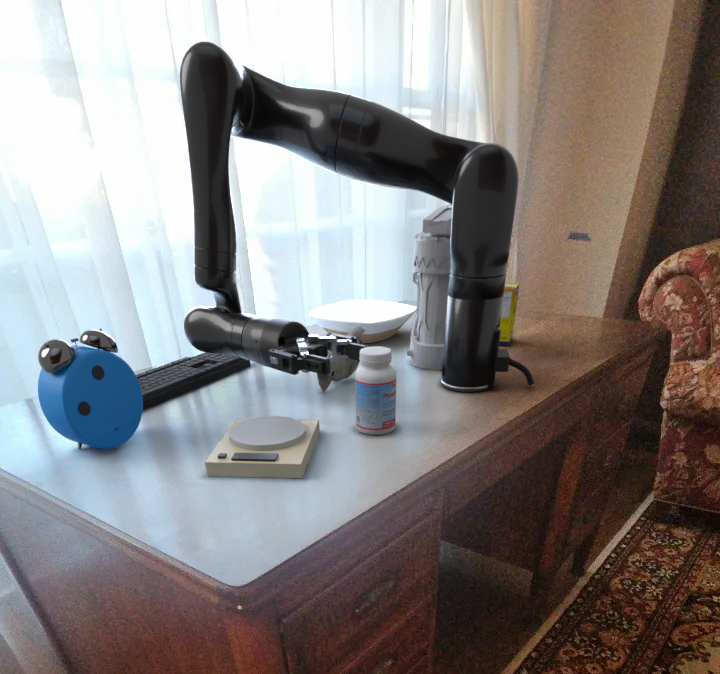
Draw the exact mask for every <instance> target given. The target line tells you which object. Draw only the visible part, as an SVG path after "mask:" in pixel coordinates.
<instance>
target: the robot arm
mask: <svg viewBox="0 0 720 674" xmlns="http://www.w3.org/2000/svg"><path fill="white" fill-rule="evenodd" d="M178 78H179V92H180V100H181V101H180V102H181V108H182V109H181V110H182V115H183V122H184V130H185V136H186V137H185V138H186V144H187V153H188V154H187V155H188V164H189V172H190V183H191V184H190V185H191V198H192V200H191V201H192V221H193V225H192V226H193V278H194V282H195V284H196V286H197V287H199V288H200V289H202V290H205V291H207V292H210V293H211V294H212V296H213V299H214V303H215V306H207V305H197V306H193V307H192V308H190V309H189V310H188V311H187V313H186V314H185V316H184V319H183V332H184V335H185V337H186V339H187V342H189V344H190V345H191V346H192V347H193V348H195V350H197V351H200V352H203V353H205V352H207V353H214V354H224V355H233V356H237V357H240V358H243V359H246V360H250V362H253V363H256V364H258V365H260V366H263V367H265V368H270V369H272V370H276V371H280V372H283V373H286V374H289V375H293V376H296V375H299V372H300V371H301V372H302V373H305V374H308V373H311V372H312V373H315V374H317V373H319V374H322V375H328V374H330V372H331V369H330V362H335V361H337V359H338V358H347V359H353V360H357V361H360V359H359V358H360V350H361V349H363V348H366V347H369V346H368V345H365V344H362V345H361V344H356V337H354V336H347V335H341V334H335V333H331V332H329V333H327V332H326V333H325V334H326V336H325V335H323V336H320V335H319V334H310V333H309V331H308V329H307V328H306V326H305V325H304V324H303V323H301V322H299V321H295V320H290V319H287V318H280V317H276V316H271V315H257V314H252V313H247V312H243V311H242V310H243V309H242V306H241V300H240V295H239V290H238V286H237V285H238V284H237V261H238V259H237V256H238V255H237V253H238V238H237V237H238V235H237V226H236V225H237V224H236V217H235V216H236V215H235V210H234V204H233V198H232V190H231V182H230V181H231V180H230V149H231V140H232V138H235V139H241V140H242V139H243V140H246V141H247V140H248V141H252V142H253V141H254V142H256V143H257V142H258V143H262V144H267V145H271V146H275V147H278V148H281V149H284V150H286V151H287V152H290V153H292V154H293V155H296V157H299V158H301V159H303V160H305V161H307V162H309V163H311V164H313V165H315V166H317V167H320V168H322V169H324V170H326V171H329V172H331V173H334V174H337V175H341V176H343V177H346V178H349V179H351V180H356V181H358V182H361V183H365V184H369V185H373V186H379V187H386V188H392V189H399V190H400V189H401V190H409V191H416V192H420V193H423V194H427V195H429V196H431V197H434V198H437V199H439V200H441V201H443V202H446V203H448V204H452V206H451V207H452V222H451V238H450V267H449V282H448V296H447V310H446V324H445V338H444V352H443V366H442V368H441V369H440V373H441V378H440V385H441V386H442V387H443V388H445V389H447V390H450V391H455V392H462V393H477V392H482V391H483V392H484V391H486V390H494V387H495V381H496V373H508V372H509V367H510V366H511V367H513V368H515V369H517V370H519V372H521V373H522V374H523V375H524V376H525V379H526V381H527V384H528V387H532V386H533V385H534V384H535V381H534V378H533V376H532V373H531V371H530V370H529V369H528V367H526V365H524V364H523V363H521V362H519V361H516V360H514V359H512V358H511V356H510V353H509V351H508V349H507V348H500V345H499V343H500V335H501V330H500V320H501V312H502V305H503V297H504V289H505V283H506V279H507V272H508V266H509V265H508V264H509V258H510V253H511V252H510V251H511V245H512V236H513V235H512V234H513V231H514V230H513V229H514V221H515V215H516V214H515V213H516V207H517V198H518V190H519V182H520V181H519V178H520V177H519V176H520V175H519V168H518V165H517V162H516V159H515V157H514V156H513V153H512V152H511V151H510V150H509V149H507V148H506V147H505V146H504V145H502V144H499V143H495V142H480V141H476V140H475V141H474V140H470V139H469V140H468V139H464V138H459V137H455V136H452V135H451V136H450V135H447V134H443V133H440V132H438V131H435V130H432V129H430V128H428V127H427V126H424V125H423V124H421V123H420V122H417V121H416V120H413V119H411V118H410V117H408V116H406V115H404V114H401V113H400V112H398V111H396V110H393V109H391V108H388V107H386V106H384V105H382V104H380V103H377V102H375V101H372V100H368V99H366V98H363V97H360V96H357V95H354V94H351V93H348V92H345V91H340V90H335V89H328V88H320V87H319V88H318V87H300V86H293V85H289V84H285V83H282V82H280V81H277V80H276V79H273V78H271V77H268V76H266V75H264V74H261V73H260V72H258V71H255V69H254V70H253V69H251V67H250V68H249V67H248V66H246V65H244V64H243V63H242V62H240V61H239V60H237V59H236V58H235V57H234V56H232V55H231V54H230V53H229V52H227V50H225V49H224V48H222V47H221V46H220V45H217V44H215V43H214V42H210V41H199V42H196V43H194V44H193V45H191V46H190V47H189V48H188V49H187V51H186V52H185V54H184V56H183V57H182V61H181V63H180V70H179V77H178ZM328 351H331V352H332V356H328Z"/></svg>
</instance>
